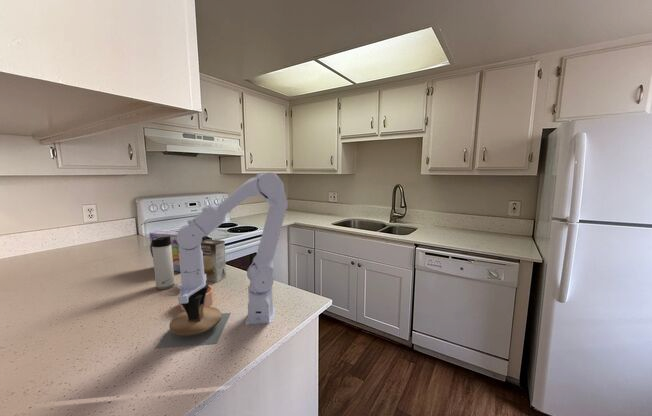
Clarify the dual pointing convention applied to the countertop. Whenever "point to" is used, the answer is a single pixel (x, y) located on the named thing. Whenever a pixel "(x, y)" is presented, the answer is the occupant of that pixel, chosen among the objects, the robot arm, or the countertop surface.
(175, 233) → the cake pan box
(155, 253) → the travel mug
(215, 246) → the coffee box
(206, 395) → the countertop surface
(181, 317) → the lid
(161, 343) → the mat
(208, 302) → the bowl
